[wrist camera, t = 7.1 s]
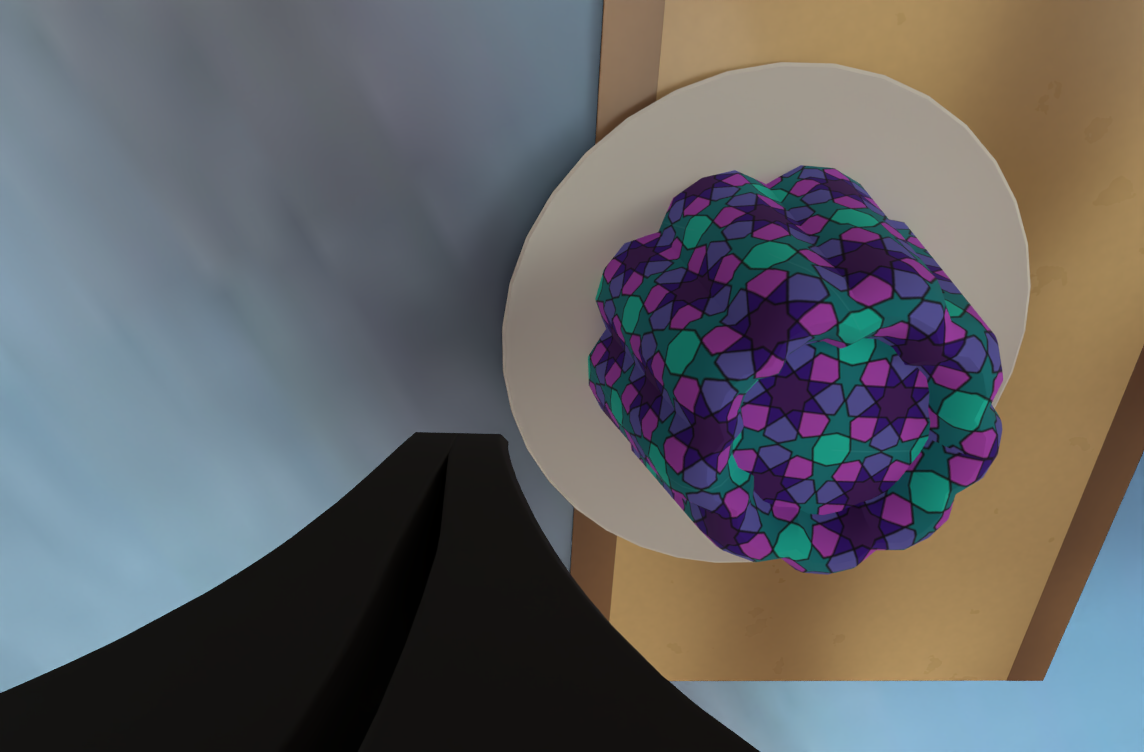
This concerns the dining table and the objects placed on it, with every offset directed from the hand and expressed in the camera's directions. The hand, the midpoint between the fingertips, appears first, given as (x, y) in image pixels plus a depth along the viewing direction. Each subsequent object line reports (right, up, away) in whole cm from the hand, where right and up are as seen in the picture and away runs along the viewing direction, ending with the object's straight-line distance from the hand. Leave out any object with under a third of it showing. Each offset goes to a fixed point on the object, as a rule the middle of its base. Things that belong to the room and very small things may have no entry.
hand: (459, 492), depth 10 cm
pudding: (+6, +3, +6) cm, 9 cm away
